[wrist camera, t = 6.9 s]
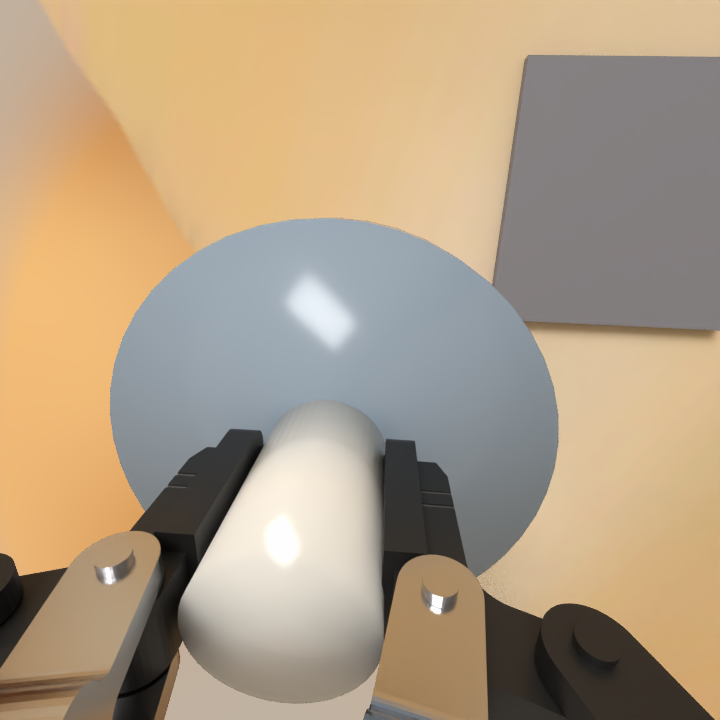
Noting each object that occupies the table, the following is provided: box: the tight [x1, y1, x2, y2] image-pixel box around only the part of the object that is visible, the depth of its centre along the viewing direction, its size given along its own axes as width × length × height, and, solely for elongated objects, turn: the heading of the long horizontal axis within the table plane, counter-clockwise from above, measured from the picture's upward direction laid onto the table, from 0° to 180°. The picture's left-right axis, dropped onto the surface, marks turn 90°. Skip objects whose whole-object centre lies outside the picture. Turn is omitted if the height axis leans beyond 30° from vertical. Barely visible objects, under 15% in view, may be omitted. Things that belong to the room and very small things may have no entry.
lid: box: [110, 218, 558, 703], centre depth 9 cm, size 12×12×6 cm
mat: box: [492, 55, 720, 330], centre depth 23 cm, size 14×14×1 cm
